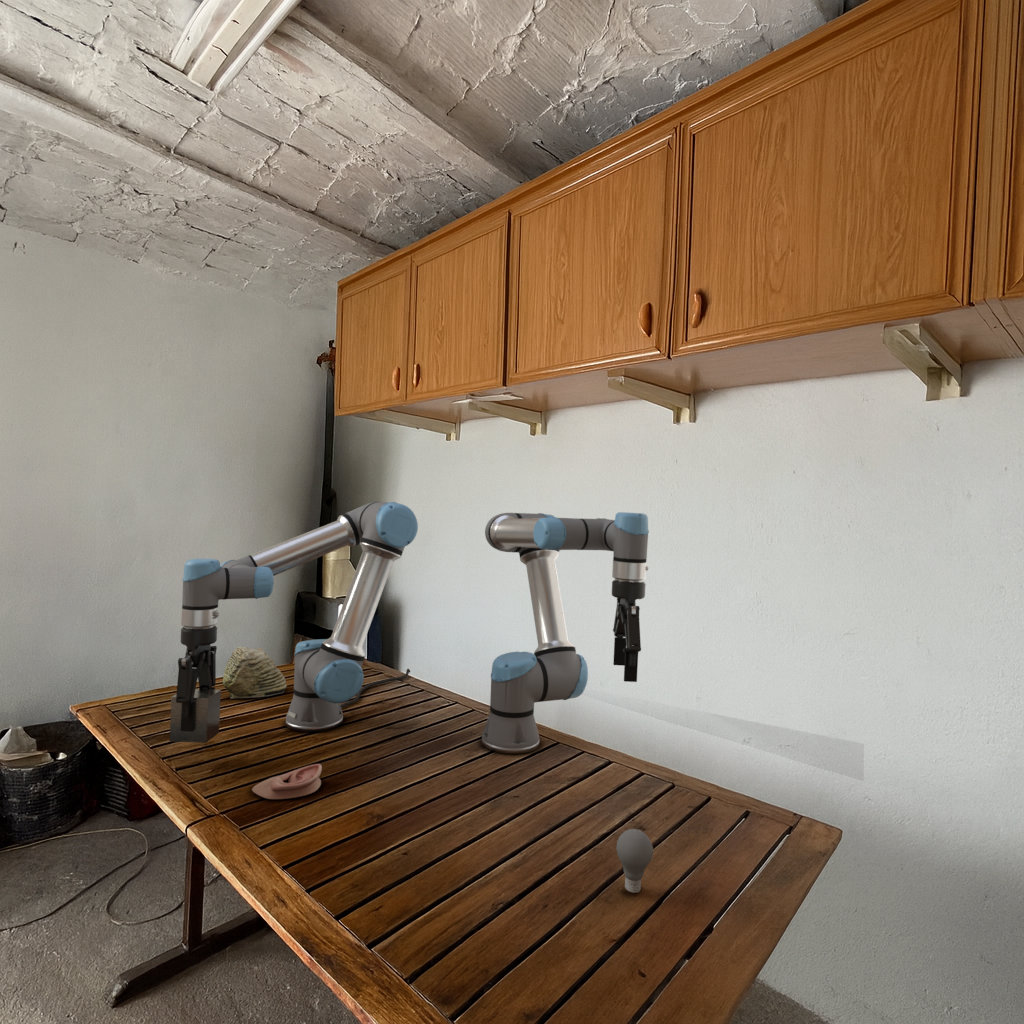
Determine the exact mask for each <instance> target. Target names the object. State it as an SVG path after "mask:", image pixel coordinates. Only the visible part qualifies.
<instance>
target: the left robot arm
mask: <svg viewBox="0 0 1024 1024" xmlns="http://www.w3.org/2000/svg"><path fill="white" fill-rule="evenodd" d="M418 531H419V523H418V519H417V516H416V515H415V513H414V511H413V510H412V509H411V508H410V507H408V506H407V505H405V504H402V503H399V502H395V501H389V502H387V501H373V502H369V503H365V504H363V505H361V506H359V507H357V508H354V509H353V510H351V511H347V512H345V513H343V514H340V515H339V516H338V517H337V519H336V520H335V521H332V522H330V523H327V524H326V525H323V526H320V527H317V528H315V529H312V530H310V531H307V532H304V533H302V534H300V535H297V536H294V537H292V538H289V539H287V540H284V541H281V542H279V543H277V544H274V545H272V546H268V547H266V548H264V549H261V550H259V551H256V552H253V553H251V554H248V555H246V556H244V557H241V558H237V559H230V560H226V561H224V562H223V563H221V561H220V560H218V559H214V558H192V559H188V560H186V561H185V563H184V567H183V577H182V597H181V598H182V600H181V601H182V603H181V619H180V625H181V626H182V627H181V628H180V644H182V645H183V646H186V650H185V655H184V657H179V658H178V660H177V667H178V671H177V672H178V673H177V682H176V684H177V685H176V693H175V694H176V702H177V703H182V709H181V731H192V732H193V731H194V723H195V702H193V699H194V694H195V689H197V685H198V689H210V690H216V684H217V683H216V680H217V679H216V678H217V677H216V674H217V673H216V672H217V671H216V669H217V668H216V667H217V664H216V663H217V661H216V659H217V658H216V656H217V655H216V654H217V647H218V646H217V645H213V644H215V643H216V642H217V640H218V627H217V626H216V625H217V624H218V617H219V616H220V612H219V600H221V601H222V600H223V601H225V600H242V599H243V600H244V599H245V600H246V599H255V600H257V599H263V598H269V597H271V595H272V594H273V591H274V584H275V582H274V581H275V580H274V579H275V578H274V576H278V575H279V574H282V573H284V572H287V571H289V570H292V569H294V568H296V567H298V566H301V565H304V564H307V563H309V562H311V561H313V560H315V559H316V560H317V559H318V558H321V557H323V556H325V555H327V554H331V553H332V552H335V551H337V550H340V549H342V548H344V547H347V546H348V547H350V548H351V547H352V548H354V547H356V546H358V545H360V547H361V549H362V551H361V552H362V553H361V556H360V558H359V561H358V563H357V565H356V569H355V571H354V574H353V577H352V579H351V582H350V585H349V587H348V590H347V593H346V595H345V598H344V600H343V603H342V606H341V609H340V611H339V615H338V617H337V619H336V623H335V625H334V628H333V630H332V633H331V636H330V637H329V638H323V639H322V638H320V639H307V640H303V641H299V642H297V644H296V645H295V650H294V651H295V652H294V653H293V654H294V655H293V656H294V672H293V673H294V674H293V695H292V696H293V697H292V699H291V702H290V704H289V708H288V711H287V713H286V715H285V726H286V728H287V729H289V730H291V731H294V732H295V731H296V732H301V733H316V732H325V731H329V730H332V729H335V728H337V727H339V726H340V725H342V723H343V722H344V714H343V709H342V708H345V707H347V706H351V705H352V704H354V703H356V702H357V701H358V700H359V699H360V697H361V693H363V691H365V690H366V689H368V688H371V687H374V686H377V685H381V684H385V683H389V682H393V681H400V680H403V679H406V678H407V677H408V676H409V674H410V673H411V670H410V669H409V668H406V672H405V674H404V675H401V676H396V677H390V678H386V679H381V680H378V681H374V682H371V683H368V684H366V685H364V686H363V684H364V680H365V675H364V670H363V668H362V666H363V663H364V660H365V659H366V658H365V657H366V653H365V650H364V648H363V647H364V644H365V641H366V638H367V635H368V632H369V629H370V628H371V624H372V622H373V619H374V616H375V613H376V612H377V611H376V610H377V608H378V605H379V602H380V599H381V597H382V594H383V591H384V588H385V586H386V583H387V580H388V577H389V574H390V572H391V569H392V566H393V564H394V562H395V561H397V560H399V559H401V558H402V556H403V553H404V551H405V549H406V547H408V546H409V545H410V544H412V542H413V541H414V540H415V539H416V536H417V535H418ZM197 683H198V684H197ZM355 696H356V697H355ZM354 697H355V698H354Z"/></svg>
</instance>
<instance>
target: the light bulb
mask: <svg viewBox="0 0 1024 1024" xmlns="http://www.w3.org/2000/svg"><path fill="white" fill-rule="evenodd" d="M615 849H616V854H617V857H618V859H619V861H620V863H621V865H622V867H623V873H624V874H623V875H624V876H625V878H624V888H625V890H627V891H628V892H630V893H634V894H635V893H639V892H640V891H641V889H642V887H641V886H642V879H643V877H644V875H645V871H646V868H647V867H648V866H649V864H650V863H651V861H652V859H653V855H654V847H653V843H652V841H651V838H649V836H648V835H647V834H646V833H645V832H643V831H642V830H641V829H636V828H629V829H627V830H625V831H623V832H622V833H621V834H620V835H619V837H618V839H617V841H616V847H615Z"/></svg>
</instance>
